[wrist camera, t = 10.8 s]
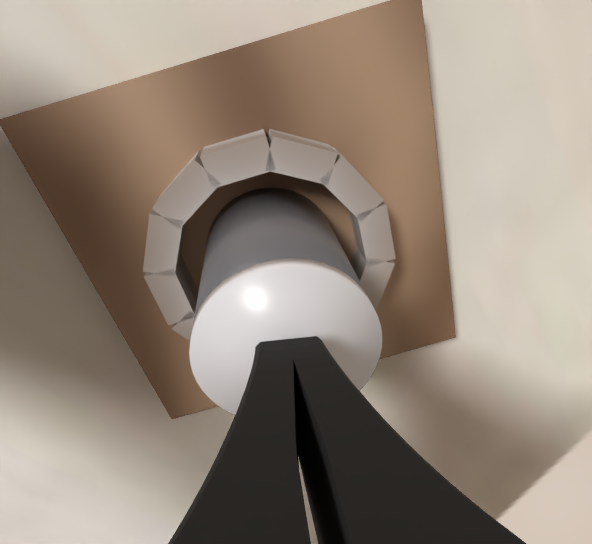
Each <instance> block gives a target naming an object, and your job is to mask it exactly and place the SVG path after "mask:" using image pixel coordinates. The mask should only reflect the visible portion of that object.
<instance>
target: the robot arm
mask: <svg viewBox="0 0 592 544" xmlns="http://www.w3.org/2000/svg"><path fill="white" fill-rule="evenodd" d="M298 456H299V460H300V465H301V469H302V474H303V478H304V482H305V487H306V491H307V496H308V500H309V504H310V509H311V513H312V517H313V522H314V526H315V530H316V535H317V539H318V544H526V543H525V542H524V541H522V540H521V539H520V538H518V537H517V536H516V535H514V534H513V533H512V532H510V531H509V530H508V529H507V528H505V527H504V526H503V525H501V524H500V523H499V522H497V521H496V520H495V519H493V518H492V517H491V516H490V515H488V514H487V513H486V512H484V511H483V510H482V509H481V508H479V507H478V506H477V505H476V504H475V503H473V502H472V501H471V500H470V499H469V498H467V497H466V496H465V495H464V494H463V493H462V492H460V491H459V490H458V489H457V488H456V487H454V486H453V485H452V484H451V483H450V482H449V481H447V480H446V479H445V478H444V477H443V476H442V475H441V474H440V473H439V472H437V471H436V470H435V469H434V468H433V467H432V466H431V465H430V464H429V463H427V462H426V461H425V460H424V459H423V458H422V457H421V456H420V455H419V454H418V453H417V452H416V451H415V450H414V449H413V448H412V447H411V446H410V445H409V444H408V443H407V442H406V441H405V440H404V439H403V438H402V437H401V436H400V435H399V434H398V433H397V432H396V431H395V430H394V429H393V428H392V427H391V426H390V425H389V424H388V423H387V422H386V421H385V420H384V419H383V418H382V416H381V415H380V414H379V413H378V412H377V411H376V410H375V409H374V408H373V406H372V405H371V404H370V403H369V402H368V401H367V399H366V398H365V397H364V396H363V395H362V394H361V392H360V391H359V390H358V389H357V388H356V387H355V385H354V384H353V383H352V382H351V380H350V379H349V378H348V377H347V375H346V374H345V373H344V371H343V370H342V369H341V367H340V366H339V365H338V364H337V362H336V361H335V359H334V358H333V357H332V355H331V354H330V352H329V351H328V349H327V348H326V346H325V345H324V343H323V341H322V340H321V339H320V338H318V337H317V336H313V337H303V338H293V339H283V340H273V341H263V342H260V343H259V344H258V345H257V346H256V347H255V355H254V360H253V365H252V369H251V372H250V376H249V379H248V382H247V385H246V388H245V391H244V394H243V396H242V399H241V402H240V404H239V407H238V410H237V412H236V415H235V417H234V420H233V422H232V425H231V427H230V429H229V431H228V433H227V436H226V438H225V440H224V442H223V444H222V447H221V449H220V451H219V453H218V455H217V458H216V460H215V462H214V464H213V466H212V468H211V470H210V471H209V473H208V475H207V477H206V479H205V481H204V483H203V485H202V487H201V489H200V490H199V492H198V494H197V496H196V498H195V499H194V501H193V503H192V505H191V507H190V508H189V510H188V512H187V514H186V515H185V517H184V519H183V520H182V522H181V524H180V525H179V527H178V529H177V530H176V532H175V534H174V535H173V537H172V538H171V540H170V542H169V543H168V544H311V542H310V536H309V530H308V524H307V518H306V512H305V505H304V499H303V492H302V486H301V480H300V473H299V463H298Z"/></svg>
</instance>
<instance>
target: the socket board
mask: <svg viewBox="0 0 592 544" xmlns="http://www.w3.org/2000/svg"><path fill="white" fill-rule="evenodd" d="M0 125H1V127H2V129H3V131H4V132H5V134H6V136H7V137H8V139H9V141H10V143H11V144H12V146H13V148H14V149H15V151H16V153H17V155H18V156H19V158H20V160H21V161H22V163H23V165H24V167H25V168H26V170H27V172H28V173H29V175H30V177H31V179H32V180H33V182H34V184H35V185H36V187H37V189H38V191H39V192H40V194H41V196H42V197H43V199H44V201H45V203H46V204H47V206H48V208H49V209H50V211H51V213H52V215H53V216H54V218H55V220H56V221H57V223H58V225H59V227H60V228H61V230H62V232H63V233H64V235H65V237H66V239H67V240H68V242H69V244H70V245H71V247H72V249H73V251H74V252H75V254H76V256H77V257H78V259H79V261H80V263H81V264H82V266H83V268H84V269H85V271H86V273H87V275H88V276H89V278H90V280H91V281H92V283H93V285H94V287H95V288H96V290H97V292H98V293H99V295H100V297H101V299H102V300H103V302H104V304H105V305H106V307H107V309H108V311H109V312H110V314H111V316H112V317H113V319H114V321H115V322H116V324H117V326H118V328H119V329H120V331H121V333H122V334H123V336H124V338H125V340H126V341H127V343H128V345H129V346H130V348H131V350H132V352H133V353H134V355H135V357H136V358H137V360H138V362H139V364H140V365H141V367H142V369H143V370H144V372H145V374H146V376H147V377H148V379H149V381H150V382H151V384H152V386H153V388H154V389H155V391H156V393H157V394H158V396H159V398H160V400H161V401H162V403H163V405H164V406H165V408H166V410H167V412H168V413H169V415H170V417H171V418H172V419H174V418H178V417H181V416H185V415H188V414H192V413H195V412H198V411H202V410H205V409H209V408H212V407H216V406H218V405H217V404H215V403H214V402H213V401H212V400H211V399H210V398H209V397H208V396H207V395H206V394H205V393H204V392H203V391H202V389H201V388H200V386H199V385H198V383H197V381H196V379H195V377H194V375H193V372H192V368H191V364H190V356H189V349H190V340H191V334H192V328H193V322H194V316H195V310H196V304H197V299H198V293H199V287H200V281H201V275H202V269H203V263H204V257H205V251H206V245H207V240H208V235H209V231H210V228H211V226H212V223H213V221H214V220H215V218H216V216H217V215H218V214H219V212H220V211H221V210H222V209H223V208H224V207H225V206H226V205H227V204H228V203H229V202H230V201H232V200H233V199H235V198H236V197H238V196H240V195H242V194H244V193H246V192H249V191H252V190H256V189H261V188H282V189H287V190H291V191H294V192H297V193H299V194H301V195H303V196H305V197H307V198H308V199H310V200H311V201H312V202H313V203H315V204H316V205H317V206H318V207H319V208H320V209H321V211H322V212H323V214H324V215H325V216H326V218H327V220H328V222H329V224H330V226H331V228H332V230H333V232H334V233H335V235H336V237H337V239H338V241H339V243H340V245H341V247H342V249H343V250H344V252H345V254H346V256H347V258H348V260H349V262H350V264H351V266H352V268H353V269H354V271H355V273H356V275H357V277H358V279H359V281H360V283H361V285H362V287H363V288H364V290H365V292H366V294H367V296H368V298H369V300H370V302H371V304H372V306H373V307H374V309H375V311H376V313H377V315H378V318H379V321H380V324H381V330H382V349H381V354H380V358H379V359H382V358H385V357H389V356H392V355H395V354H399V353H402V352H406V351H409V350H413V349H416V348H420V347H423V346H427V345H430V344H433V343H437V342H440V341H444V340H447V339H451V338H454V337H456V336H455V326H454V316H453V306H452V296H451V286H450V276H449V266H448V256H447V247H446V237H445V227H444V217H443V207H442V197H441V187H440V177H439V168H438V158H437V148H436V138H435V128H434V118H433V108H432V98H431V88H430V79H429V69H428V59H427V49H426V39H425V29H424V19H423V9H422V0H390V1H387V2H383V3H380V4H377V5H374V6H370V7H367V8H364V9H361V10H357V11H354V12H351V13H347V14H344V15H341V16H338V17H334V18H331V19H328V20H325V21H321V22H318V23H315V24H311V25H308V26H305V27H302V28H298V29H295V30H292V31H288V32H285V33H282V34H279V35H275V36H272V37H269V38H266V39H262V40H259V41H256V42H252V43H249V44H246V45H243V46H239V47H236V48H233V49H230V50H226V51H223V52H220V53H216V54H213V55H210V56H207V57H203V58H200V59H197V60H193V61H190V62H187V63H184V64H180V65H177V66H174V67H171V68H167V69H164V70H161V71H157V72H154V73H151V74H148V75H144V76H141V77H138V78H135V79H131V80H128V81H125V82H121V83H118V84H115V85H112V86H108V87H105V88H102V89H98V90H95V91H92V92H89V93H85V94H82V95H79V96H76V97H72V98H69V99H66V100H62V101H59V102H56V103H53V104H49V105H46V106H43V107H40V108H36V109H33V110H30V111H26V112H23V113H20V114H17V115H13V116H10V117H7V118H3V119H0Z"/></svg>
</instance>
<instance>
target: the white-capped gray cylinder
mask: <svg viewBox="0 0 592 544" xmlns="http://www.w3.org/2000/svg"><path fill="white" fill-rule="evenodd" d="M313 336H317V337H318V338H320V339H321V340H322V341H323V343H324V345H325V346H326V348H327V349H328V351H329V352H330V354H331V355H332V357H333V358H334V359H335V361H336V362H337V364H338V365H339V366H340V367H341V369H342V370H343V371H344V373H345V374H346V375H347V377H348V378H349V379H350V380H351V382H352V383H353V384H354V385H355V387H356V388H357V389H358V390H359V391H360V390H361V389H362V387H363V386H364V385H365V384H366V383H367V381H368V380H369V378H370V377H371V376H372V374H373V372H374V370H375V368H376V366H377V364H378V361H379V358H380V354H381V349H382V330H381V324H380V321H379V318H378V315H377V313H376V311H375V309H374V307H373V306H372V304H371V302H370V300H369V298H368V296H367V294H366V292H365V290H364V288H363V287H362V285H361V283H360V281H359V279H358V277H357V275H356V273H355V271H354V269H353V268H352V266H351V264H350V262H349V260H348V258H347V256H346V254H345V252H344V250H343V249H342V247H341V245H340V243H339V241H338V239H337V237H336V235H335V233H334V232H333V230H332V228H331V226H330V224H329V222H328V220H327V218H326V216H325V215H324V214H323V212H322V211H321V209H320V208H319V207H318V206H317V205H316V204H315V203H313V202H312V201H311V200H310V199H308V198H307V197H305V196H303V195H301V194H299V193H297V192H294V191H291V190H287V189H282V188H261V189H256V190H252V191H249V192H246V193H244V194H242V195H240V196H238V197H236V198H235V199H233V200H232V201H230V202H229V203H228V204H227V205H226V206H225V207H224V208H223V209H222V210H221V211H220V212H219V214H218V215H217V216H216V218H215V220H214V221H213V223H212V226H211V228H210V231H209V235H208V240H207V245H206V251H205V257H204V263H203V269H202V275H201V281H200V287H199V293H198V299H197V304H196V310H195V316H194V322H193V328H192V334H191V340H190V349H189V356H190V364H191V368H192V372H193V375H194V377H195V379H196V381H197V383H198V385H199V386H200V388H201V389H202V391H203V392H204V393H205V394H206V395H207V396H208V397H209V398H210V399H211V400H212V401H213V402H214V403H215V404H217V405H218V406H220V407H221V408H223V409H224V410H226V411H228V412H230V413H232V414H234V415H236V412H237V410H238V407H239V404H240V402H241V399H242V396H243V394H244V391H245V388H246V385H247V382H248V379H249V376H250V372H251V369H252V365H253V360H254V355H255V347H256V346H257V345H258V344H259V343H260V342H263V341H273V340H283V339H293V338H303V337H313Z"/></svg>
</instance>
